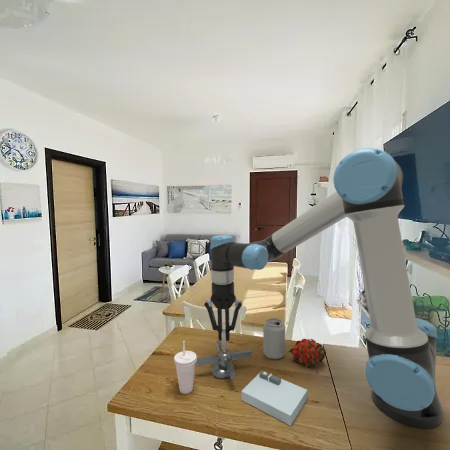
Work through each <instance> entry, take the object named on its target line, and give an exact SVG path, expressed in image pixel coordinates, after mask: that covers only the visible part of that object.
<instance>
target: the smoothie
mask: <svg viewBox="0 0 450 450" xmlns="http://www.w3.org/2000/svg"><path fill="white" fill-rule="evenodd" d="M182 346H183V347H182V351H179V352H178V353H176V354H175V355H174V358H173V362H174V364H175V368H176V369H175V370H176V376H177V382H178V388H179V392H180V393H181V394H184V395H185V394H190V393H191V392H192V391H193V388H194V379H195V370H196V360H197V357H198V356H197V354H196V352H193V350H192V351H191V350H186V341H185V340H183V341H182Z"/></svg>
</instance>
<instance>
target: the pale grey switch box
mask: <svg viewBox="0 0 450 450" xmlns="http://www.w3.org/2000/svg"><path fill="white" fill-rule="evenodd" d="M240 394H241V401H243V402H245V403H246V404H248V405H250V406H252V407H254V408H256V409H258V410H259V411H262V412H264V413H265V414H267V415H270V416H272V417H273V418H274V419H277V420H279V421H281V422H283V423H284V424H287V425H289V426H290V427H291V426H292V424H293V422H294V421H295V419H296V418H297V416H298V415H299V413H300V411H301V410H302V408H303V406H304V404H305V403H306V402H307V401H308V389H306V388H304V387H301V386H299V385H296V384H294V383H291V382H290V381H287V380H285V379H282V378H281V377H278V376H276V375H274V374H273V373H269V372H267V371H265V370H261V371H259V373H257V375H256V376H255V377H254V378H253V379H252V380H251V381H250V382H249V383H248V384H247V385H245V387H244V388H243V389H242V390H241V393H240Z"/></svg>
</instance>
